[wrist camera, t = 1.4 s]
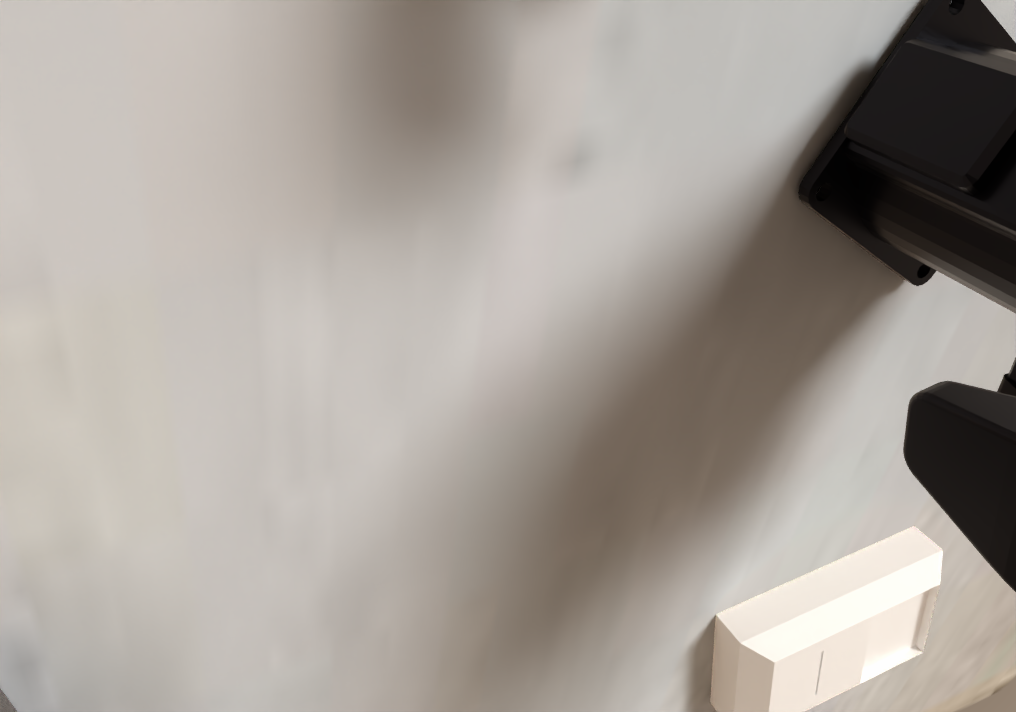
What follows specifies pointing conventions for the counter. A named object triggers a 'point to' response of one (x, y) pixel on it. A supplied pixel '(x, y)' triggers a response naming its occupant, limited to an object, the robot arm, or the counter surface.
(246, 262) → the counter surface
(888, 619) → the soap bar
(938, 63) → the robot arm
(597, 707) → the counter surface
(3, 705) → the desk organizer stand
